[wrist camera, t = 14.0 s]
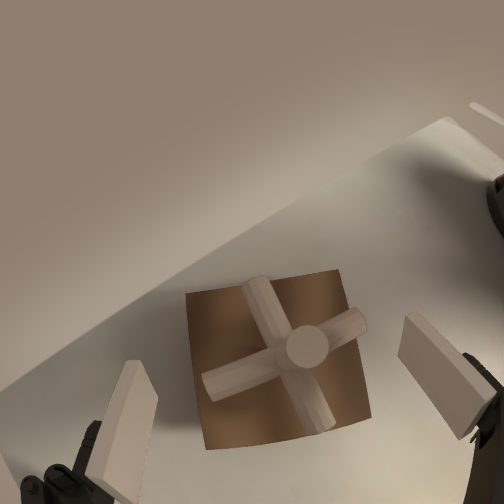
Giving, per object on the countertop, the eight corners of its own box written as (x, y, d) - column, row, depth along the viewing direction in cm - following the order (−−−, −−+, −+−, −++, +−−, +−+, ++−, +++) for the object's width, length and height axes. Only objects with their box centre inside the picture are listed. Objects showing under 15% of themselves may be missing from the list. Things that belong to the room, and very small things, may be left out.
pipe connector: (192, 326, 21) (155, 283, 12) (307, 281, 23) (346, 213, 14) (242, 443, 17) (243, 493, 8) (359, 387, 19) (436, 384, 10)
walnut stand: (325, 288, 27) (338, 269, 23) (352, 412, 22) (371, 417, 17) (197, 308, 27) (185, 293, 22) (215, 437, 21) (205, 449, 17)
